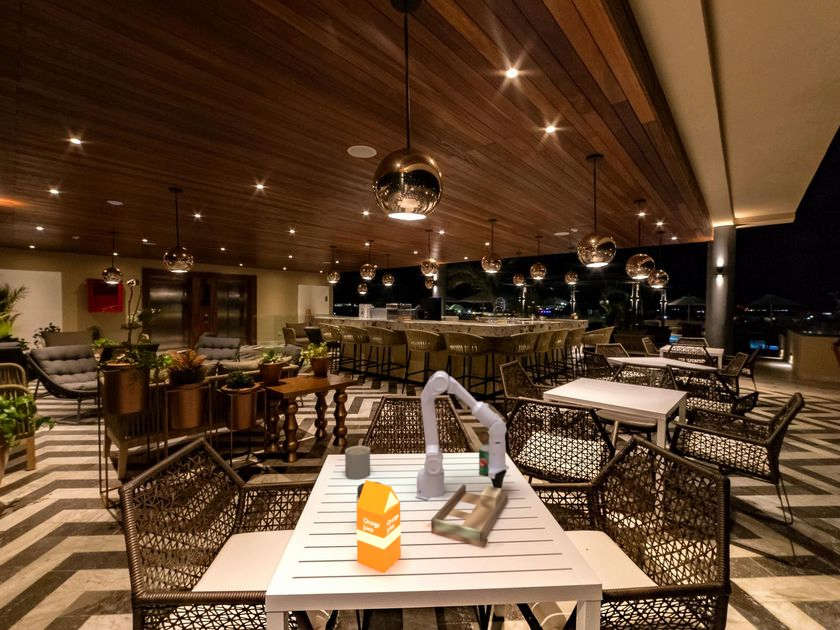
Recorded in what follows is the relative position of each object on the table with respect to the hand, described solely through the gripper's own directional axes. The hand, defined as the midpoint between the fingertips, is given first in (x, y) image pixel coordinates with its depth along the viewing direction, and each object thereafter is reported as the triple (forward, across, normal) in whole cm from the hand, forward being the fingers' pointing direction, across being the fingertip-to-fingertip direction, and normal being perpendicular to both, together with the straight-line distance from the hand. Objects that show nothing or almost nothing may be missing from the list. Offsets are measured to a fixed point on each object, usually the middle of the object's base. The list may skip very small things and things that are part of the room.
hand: (497, 491), depth 132 cm
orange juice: (+3, -47, +19) cm, 50 cm away
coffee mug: (+3, -4, +56) cm, 57 cm away
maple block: (+1, -8, 0) cm, 8 cm away
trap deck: (+2, -17, +4) cm, 17 cm away
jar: (+3, -35, +30) cm, 46 cm away
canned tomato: (+3, +17, +8) cm, 20 cm away
